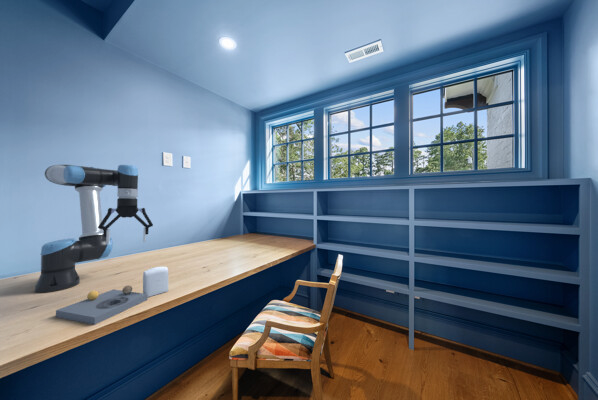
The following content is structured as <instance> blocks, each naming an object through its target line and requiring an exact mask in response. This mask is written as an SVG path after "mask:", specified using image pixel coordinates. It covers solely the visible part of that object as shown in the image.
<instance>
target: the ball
mask: <svg viewBox="0 0 598 400" xmlns="http://www.w3.org/2000/svg"><path fill="white" fill-rule="evenodd" d="M99 294H100V293H99V292H98V291H97V290H91V291H90V292H88V293H87V294H86V295H87V298H86V299H89V300H94V299H96V298H97V297H98V295H99Z"/></svg>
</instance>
